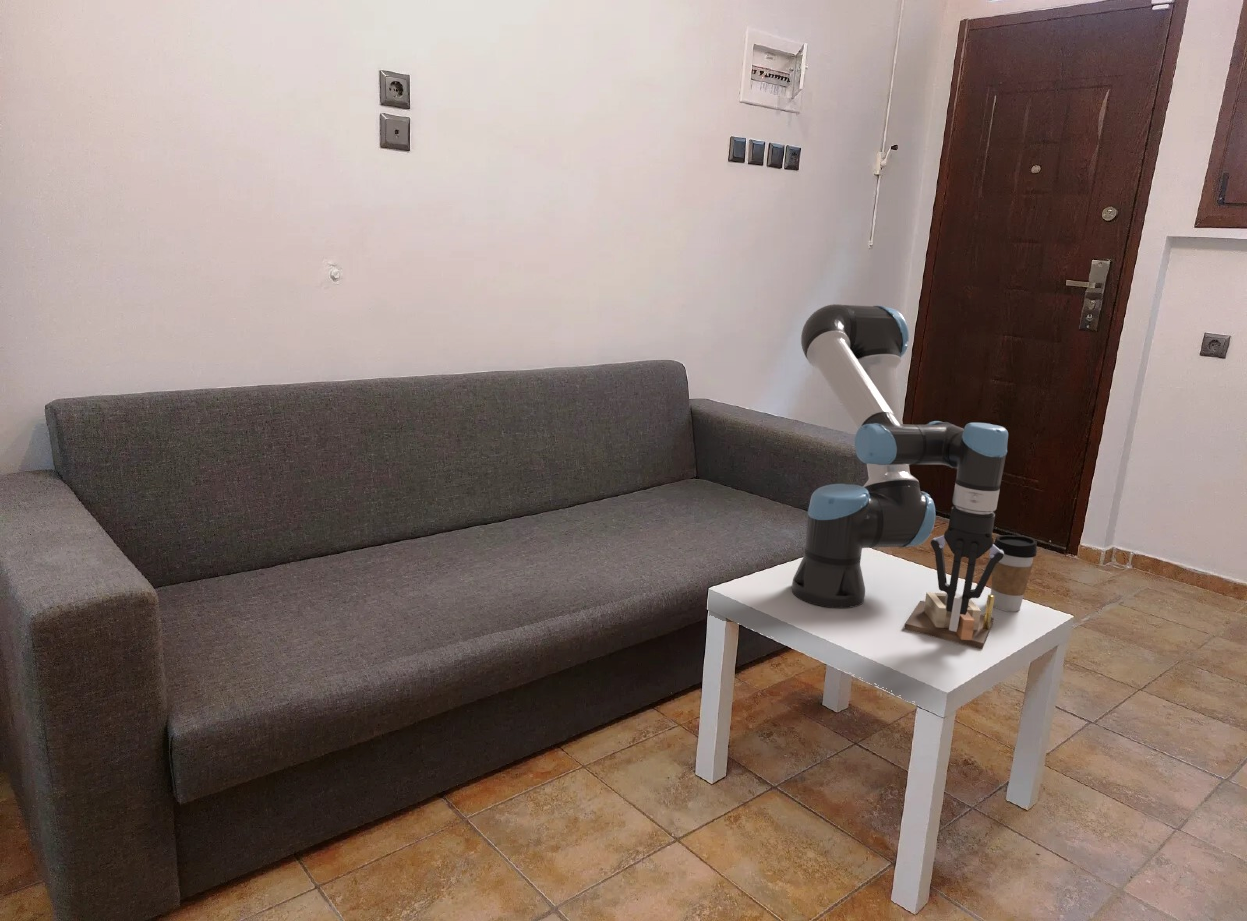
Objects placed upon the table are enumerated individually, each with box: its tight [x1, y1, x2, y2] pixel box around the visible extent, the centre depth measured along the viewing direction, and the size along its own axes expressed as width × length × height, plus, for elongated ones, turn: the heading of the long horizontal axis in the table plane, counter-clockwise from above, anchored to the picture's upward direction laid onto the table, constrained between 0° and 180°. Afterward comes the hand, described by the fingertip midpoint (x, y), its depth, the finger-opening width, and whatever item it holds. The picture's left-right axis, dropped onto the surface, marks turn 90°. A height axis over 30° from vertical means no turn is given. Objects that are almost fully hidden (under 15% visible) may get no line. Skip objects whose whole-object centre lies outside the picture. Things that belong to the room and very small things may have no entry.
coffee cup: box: [990, 534, 1038, 612], centre depth 181 cm, size 8×8×15 cm
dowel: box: [983, 594, 995, 630], centre depth 167 cm, size 1×1×7 cm
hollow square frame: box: [924, 591, 982, 640], centre depth 168 cm, size 13×8×4 cm, turn 178°
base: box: [903, 593, 995, 650], centre depth 170 cm, size 14×14×6 cm
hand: (953, 628), depth 163 cm, fingers closed
